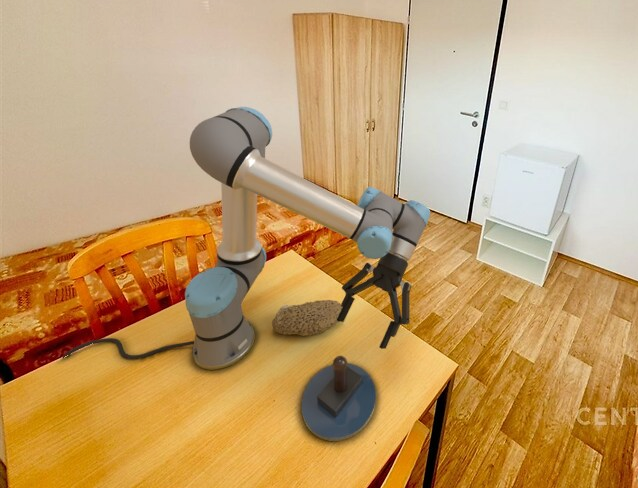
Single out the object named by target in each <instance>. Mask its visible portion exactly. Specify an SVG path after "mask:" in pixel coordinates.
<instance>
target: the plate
mask: <svg viewBox="0 0 638 488" xmlns="http://www.w3.org/2000/svg"><path fill="white" fill-rule="evenodd" d="M347 366H348V367H349V368H351V369H352V370H353V371H355V372H356V373H358V374H359V375H360V376H362V377H363V380H362V384H361V386H360V387H359V388H358V389H357V391H356V392H355V393H354V395H353V396H352V397H351V399H350V400H349V401H348V403H347V404H346V405H345V406H344V408H343V409H342V410H341V412H340V413H339V414H338V416H337V417H334V416H333V415H332V414H331V413H330V412H328V411H327V410H326V409H325V408H323V407H322V406H321V405H320V404H319V403H318V402H317V396H318V395H319V394H320V392H321V391H322V390H323V389H324V388H325V387H326V386H327V384H328V383H329V382H330V381H331V380H332V379H333V377H334V368H333V364H331V365H327V366H326V367H324V368H322V369H321V370H319V371H318V372H317V373H315V375H314V376H313V377H312V378H310V380H309V382H308V384H307V385H306V386H305V389H304V390H303V393H302V399H301V415H302V419H303V422H304V424H305V426H306V428H307V429H308V430H309V431H310V433H312V434H313V435H314V436H315V437H317V438H319V439H321V440H323V441H327V442H340V441H345V440H348V439H350V438H352V437H354V436H356V435H357V434H359V433H360V432H361V431H362V430H363V429H364V428H365V427H366V426H367V424H368V423H369V422H370V420H371V418H372V417H373V413H374V411H375V408H376V401H377V400H376V399H377V392H376V387H375V383H374V381H373V379H372V377H371V376H370V374H369V373H368V372H367V371H366V370H365V369H364V368H362V367H360V366H359V365H357V364H353V363H349V362H347Z"/></svg>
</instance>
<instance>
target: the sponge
mask: <svg viewBox="0 0 638 488" xmlns="http://www.w3.org/2000/svg"><path fill="white" fill-rule="evenodd" d="M342 308H343V307H342V306H341V302H339V301H337V300H333V299H323V300H322V299H321V300H315V301H307V302H304V303H302V304H296V305H295V304H293V305H288V304H286V305H283V306H280V308H279V309H278V311H277V313H276V314H275V316H274V319H273V320H272V321H271V325H272V327H271V328H272V329H273V331H275V332H277V333H278V334H282V335H297V336H302V337H306V336H307V337H308V336H313V335H318V334H320V333H323V332H325V331H327V330H329V329H330V328H333V327H334V326H336V325H337V324H338V323H339V322H338V321H337V318H338V316H339V314H340V312H341V310H342Z"/></svg>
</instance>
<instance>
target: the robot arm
mask: <svg viewBox="0 0 638 488" xmlns="http://www.w3.org/2000/svg"><path fill="white" fill-rule="evenodd" d="M272 139H273V128H272V125H271V123H270V122H269V120H268V119H267V118H266V116H265V115H264V114H263V113H262V112H260V111H259V110H256V109H255V108H253V107H248V106H239V107H238V106H237V107H234V108H228V109H227V110H225V112H222V113H219V114H218V115H215V116H212V117H209V118H207V119H204V120H202V121H201V122H199V123H198V124H197V125H196V126H195V127H194V129H193V130H192V132H191V134H190V137H189V151H190V154H191V157H192V158H193V160H194V161H195V163H196V164H197V165H198V167H199V168H200V169H201V170H202V171H203V172H204V173H206V174H207V175H208V176H209V177H211V178H213V179H214V180H216V181H218V182H219V183H220V184H221V185H220V187H221V221H222V223H221V224H222V241H221V242H220V243H218V245H217V246H216V264H215V265H214V267H210V268H207V269H205V270H204V272H199V273H198V274H196V275H195V276H194V277H193V278H191V280H190V281H189V282H188V284H187V286H186V287H185V291H184V299H185V307H186V310H187V312H188V314H189V315H188V316H189V317H190V321H191V324H192V327H193V330H194V333H195V336H194V340H192V341H185V342H180V343H173V344H170V345H165V346H162V347H159V348H156V349H153V350H151V351H147V352H145V353H141V354H128V353H127V352H126V351H125V350H124V347H123V343H122V342H121V341H120V340H119V339H117V338H113V337H108V338H107V337H106V338H99V339H94V340H90V341H88V342H85V343H82V344H80V345H77V346H75V347H73V348H72V349H69V351H67V352H65V353H64V354H63V356H62V358H61V359H66V358H68V357H69V356H70V355H71V353H72V354H73V353H75V352H76V351H78V350H81V349H83V348H85V347H88V346H91V345H90V344H92V343H93V344H92V345H95V344H99V343H114V344H116V346H117V349H118V351H119V354H120V355H121V357H122V358H124V359H127V360H138V359H143V358H146V357H149V356H151V355H155V354H157V353H160V352H163V351H167V350H170V349H175V348H181V347H188V346H192V345H193V347H192V356H193V359H194V362H195V363H196V365H197V366H198V367H200V368H202V369H204V370H209V371H215V370H222V369H225V368H228V367H231V366H233V365H235V364H236V363H238V362H239V361H241V360H242V359H244V358H245V356H246V355H247V354H248V353H249V352H250V351H251V349H252V347H253V345H254V343H255V339H256V338H255V330H254V327H253V325H252V323H250V321H249V320H248V319H247V318H246V317H245V315H244V311H243V307H242V304H243V301H244V299H245V297H246V296H247V294H248V293H249V291H250V290H251V288H252V286H253V285H254V283H255V281H256V280H257V278H258V277H259V275H260V274H261V273H262V271H263V269H264V267H265V264H266V263H267V252H266V250H265V248H264V247H262V243H261V241H259V240H258V239H257V226H258V224H257V223H258V221H257V220H258V196H260V197H262V198H263V199H265V200H268V201H270V202H272V203H274V204H276V205H278V206H280V207H282V208H285V209H287V210H289V211H290V212H294V213H295V214H298V215H299V216H302V217H304V218H306V219H308V220H310V221H312V222H313V223H315V224H318V225H320V226H322V227H323V228H324V227H325V228H326V229H328V230H331V231H333V232H334V233H336V234H339V235H341V236H343V237H346V238H347V239H349V240H351V241H353V242H355V243H356V247H357V250H358V251H359V253H360V254H361V255H362V256H363V257H365V258H367V259H370V260H377V259H379V260H378V262H377V264H376V266H373V264H372V263H369V262H365V263H364V266H363V267H362V269H361V270H360V271H358V272H357V273H356V274H355V275H354V276H352V277H351V278H350V279H349V280H348V281H346V283H344V284H343V285H342V287H341V290H342V291H344V293H345V295H344V297H343V299H342V302H340V304H341V306H342V307H343V308H342V310H341V312H340V314H339V316H338V318H337V321H338V323H344V322H345V321H346V318H347V316H348V313H349V311H350V310H351V308H352V306H353V303H354V301H355V299H356V298H355V296H356V295H358V294H360V293H361V292H363V291H365V290H367V289H369V288H371V287H374V286H375V287H376V288H378V289H381V290H382V291H384V292H386V293H387V294H388V297H389V301H390V306H391V311H392V316H393V320H390V321H389V324H388V326H387V328H386V330H385V332H384V335H383V337H382V340H381V342H380V344H379V349H381V350H385V349H387V347H388V345H389V342H390V340H391V338H395V337H396V335H397V333H398V332H399V329H400V326H401V325H406V326H407V325H410V322H411V321H410V320H411V319H410V314H411V313H410V293H411V289H412V283H411V282H408V281H404V280H403V277H404V275H405V273H406V271H407V269H408V266H409V262H408V261H411V259H412V257H413V255H414V253H415V250H416V248H417V246H418V243H419V242H420V239H421V237H422V235H423V233H424V231H425V229H426V228H427V224H428V222H429V220H430V216H431V210H430V209H429V207H428V206H427V205H424V204H423V203H421V202H419V201H416V200H412V199H408V200H407V201H406V203H403V202H401V201H399V200H397V199H396V198H394V197H393V196H390V195H389V194H387V193H385V192H383V191H382V190H379V189H377V188H375V187H373V186H368V187H366V189H364V191H363V192H362V194H361V196H360V197H359V199H358V201H357V204H354V203H353V202H350V201H349V200H347V199H345V198H343V197H341V196H339V195H337V194H335V193H333V192H331V191H329V190H327V189H325V188H324V187H321V186H320V185H318V184H316V183H314V182H312V181H310V180H308V179H306V178H304V177H302V176H300V175H298V174H296V173H294V172H292V171H290V170H289V169H286V168H284V167H282V166H280V165H279V164H276V163H274V162H273V161H271V160H269V159H267V158H266V147H268V146H269V145H270V143H271V141H272ZM371 273H372V276H371V277H369V278H368V279H367V280H365V281H363V279H365V278H366V277H367V276H368V275H369V274H371ZM361 281H363V282H361ZM360 282H361V283H360ZM357 284H358V285H357ZM398 287H400V289H401V308H400V303H399V299H398V291H397V288H398ZM67 355H69V356H67ZM65 356H67V357H65ZM64 357H65V358H64Z"/></svg>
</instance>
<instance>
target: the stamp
mask: <svg viewBox="0 0 638 488" xmlns="http://www.w3.org/2000/svg"><path fill="white" fill-rule="evenodd" d="M347 363H348V360H347V358H346V356H344V355H337V356H336V357H335V358H334V359H333V361H332V365H333V368H334V377H333V379H332V380H331V381H330V382H329V383H328V384H327V386H326V387H325V388H324V389H323V390H322V391H321V392H320V394H319V395H318V396H317V402H318V403H319V404H320V405H321V406H322V407H323V408H325V409H326V410H327V411H328V412H330V413H331V414H332V415H333V416H334V417H337V416H338V414H339V413H340V412H341V410H342V409H343V408H344V406H345V405H346V404H347V403H348V401H349V400H350V399H351V397H352V396H353V395H354V393H355V392H356V391H357V389H358V388H359V387H360V386H361V384H362V380H363V377H362V376H360V375H359V374H358V373H356V372H355V371H353V370H352V369H351V368H349V367H348V366H347Z"/></svg>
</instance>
